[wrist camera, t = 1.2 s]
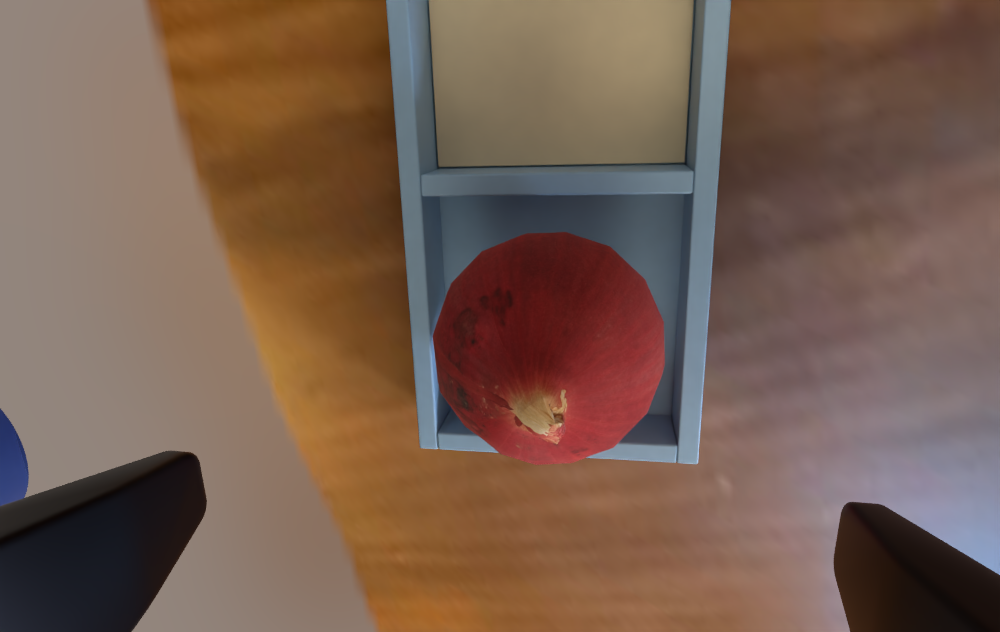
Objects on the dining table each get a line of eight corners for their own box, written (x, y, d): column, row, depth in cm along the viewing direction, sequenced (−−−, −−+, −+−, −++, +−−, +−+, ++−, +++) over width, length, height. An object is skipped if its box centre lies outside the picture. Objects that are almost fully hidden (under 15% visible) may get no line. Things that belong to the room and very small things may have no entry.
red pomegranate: (477, 391, 21) (404, 545, 14) (456, 219, 20) (361, 286, 12) (656, 387, 20) (685, 551, 13) (651, 204, 18) (680, 268, 11)
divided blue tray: (439, 413, 22) (419, 449, 20) (404, -126, 17) (372, -163, 15) (688, 425, 21) (698, 465, 19) (726, -157, 16) (746, -202, 14)
